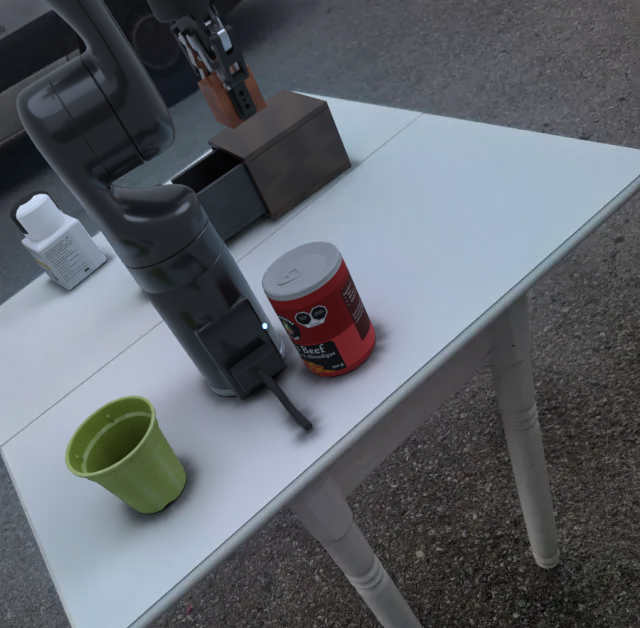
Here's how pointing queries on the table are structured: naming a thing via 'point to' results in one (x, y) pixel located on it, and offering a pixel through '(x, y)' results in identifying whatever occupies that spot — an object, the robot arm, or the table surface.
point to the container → (56, 239)
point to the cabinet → (287, 149)
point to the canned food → (320, 308)
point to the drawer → (224, 191)
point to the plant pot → (127, 454)
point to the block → (228, 99)
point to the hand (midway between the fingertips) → (239, 111)
